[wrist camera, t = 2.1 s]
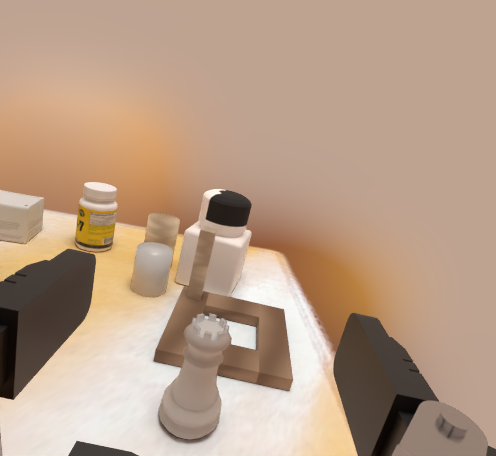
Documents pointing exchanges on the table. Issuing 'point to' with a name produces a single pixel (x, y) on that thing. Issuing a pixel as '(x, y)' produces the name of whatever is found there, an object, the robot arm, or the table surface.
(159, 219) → the medium beech peg
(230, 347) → the hole board
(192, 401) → the rook chess piece
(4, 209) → the small box
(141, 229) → the table surface
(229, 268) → the medicine bottle
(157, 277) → the short grey peg
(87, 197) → the supplement bottle
